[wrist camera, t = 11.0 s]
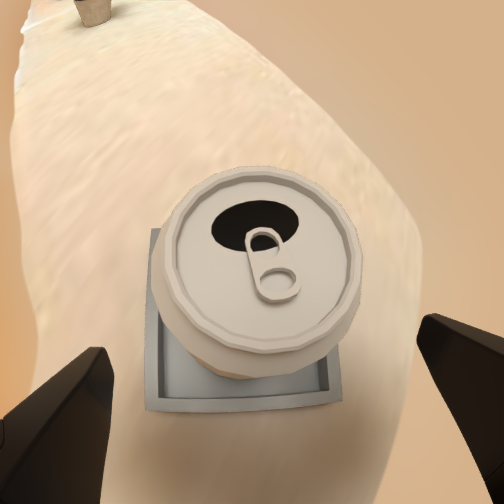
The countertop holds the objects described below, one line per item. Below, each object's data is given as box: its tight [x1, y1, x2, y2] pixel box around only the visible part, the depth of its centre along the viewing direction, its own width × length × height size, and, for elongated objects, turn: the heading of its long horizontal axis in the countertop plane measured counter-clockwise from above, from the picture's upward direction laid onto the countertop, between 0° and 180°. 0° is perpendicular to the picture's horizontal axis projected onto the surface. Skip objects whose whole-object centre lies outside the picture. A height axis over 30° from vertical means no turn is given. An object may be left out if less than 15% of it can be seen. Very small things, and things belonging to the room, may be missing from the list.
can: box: [151, 166, 363, 380], centre depth 14 cm, size 8×8×12 cm
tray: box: [144, 228, 342, 413], centre depth 19 cm, size 12×12×2 cm
